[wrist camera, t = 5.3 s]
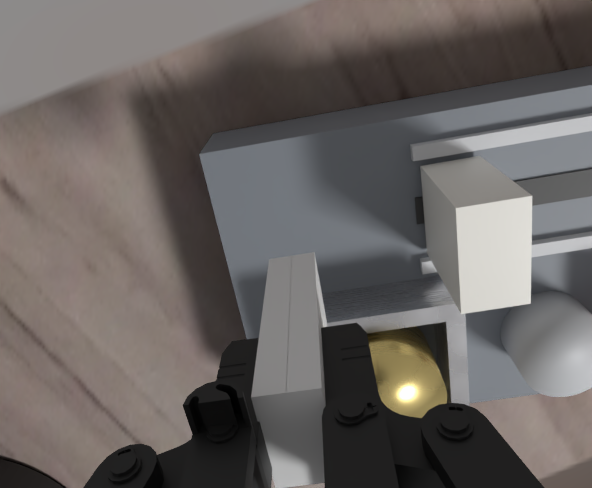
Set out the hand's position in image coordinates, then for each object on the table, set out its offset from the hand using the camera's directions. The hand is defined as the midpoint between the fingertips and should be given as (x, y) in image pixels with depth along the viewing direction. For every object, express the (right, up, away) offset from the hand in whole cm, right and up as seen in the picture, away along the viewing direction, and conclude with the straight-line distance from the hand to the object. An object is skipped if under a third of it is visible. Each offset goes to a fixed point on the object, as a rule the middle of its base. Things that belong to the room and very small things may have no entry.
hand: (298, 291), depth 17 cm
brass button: (+4, -4, +7) cm, 9 cm away
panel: (+9, +2, +10) cm, 13 cm away
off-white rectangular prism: (+7, +3, +5) cm, 9 cm away
